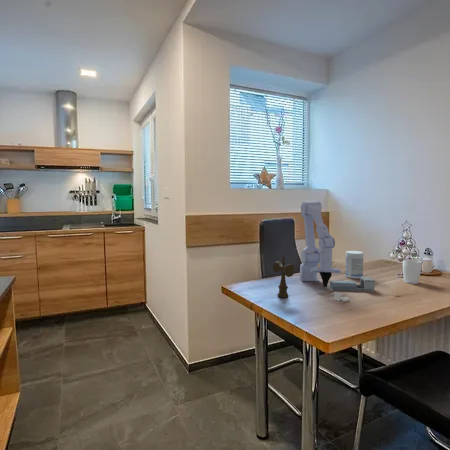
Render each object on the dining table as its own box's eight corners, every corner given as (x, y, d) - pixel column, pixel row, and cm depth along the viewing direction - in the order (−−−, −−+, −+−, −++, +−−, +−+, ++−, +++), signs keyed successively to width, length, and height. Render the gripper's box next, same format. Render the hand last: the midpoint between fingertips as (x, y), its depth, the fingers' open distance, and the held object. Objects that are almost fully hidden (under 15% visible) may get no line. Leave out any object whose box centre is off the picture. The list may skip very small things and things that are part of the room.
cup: (415, 280, 177) (416, 259, 176) (423, 284, 168) (425, 262, 167) (398, 279, 178) (399, 258, 177) (406, 284, 169) (407, 262, 168)
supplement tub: (365, 277, 184) (366, 252, 182) (358, 280, 177) (359, 254, 175) (349, 273, 191) (350, 249, 189) (341, 276, 184) (342, 252, 182)
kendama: (285, 300, 144) (286, 257, 142) (271, 295, 152) (271, 254, 150) (294, 298, 147) (295, 256, 145) (280, 292, 155) (281, 252, 153)
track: (333, 290, 158) (333, 279, 158) (330, 286, 165) (330, 275, 165) (374, 291, 156) (375, 280, 156) (369, 287, 163) (369, 276, 163)
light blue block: (331, 290, 160) (331, 282, 160) (330, 288, 164) (330, 280, 163) (356, 290, 159) (356, 283, 158) (354, 288, 162) (354, 281, 162)
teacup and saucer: (349, 300, 146) (350, 291, 145) (346, 305, 139) (347, 296, 138) (330, 297, 150) (330, 288, 150) (326, 302, 143) (326, 293, 143)
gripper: (312, 261, 157) (311, 288, 159) (342, 262, 156) (341, 289, 157) (310, 258, 164) (309, 284, 166) (339, 259, 163) (338, 285, 164)
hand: (325, 286), depth 162 cm, fingers closed
